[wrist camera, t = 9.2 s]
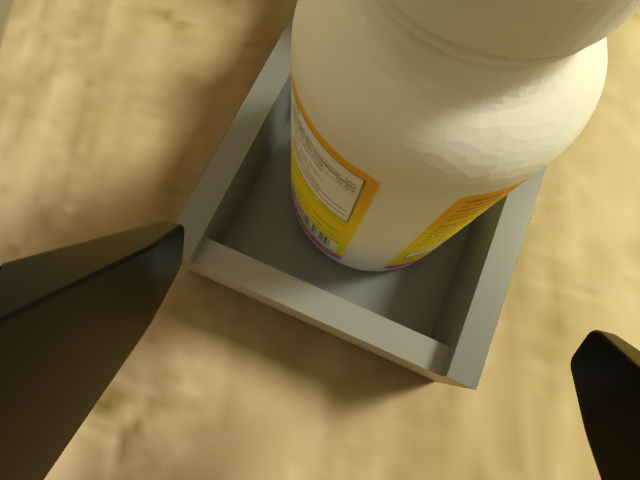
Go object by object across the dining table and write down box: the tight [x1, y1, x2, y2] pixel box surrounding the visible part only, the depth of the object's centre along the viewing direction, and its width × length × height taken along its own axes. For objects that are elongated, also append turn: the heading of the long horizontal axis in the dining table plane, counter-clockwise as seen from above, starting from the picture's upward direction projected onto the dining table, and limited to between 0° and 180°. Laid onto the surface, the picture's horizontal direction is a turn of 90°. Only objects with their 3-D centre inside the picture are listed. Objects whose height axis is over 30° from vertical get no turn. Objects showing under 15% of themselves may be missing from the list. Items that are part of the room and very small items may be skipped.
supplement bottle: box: [290, 0, 640, 271], centre depth 12 cm, size 7×7×13 cm
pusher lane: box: [175, 12, 547, 390], centre depth 16 cm, size 18×11×7 cm, turn 156°
